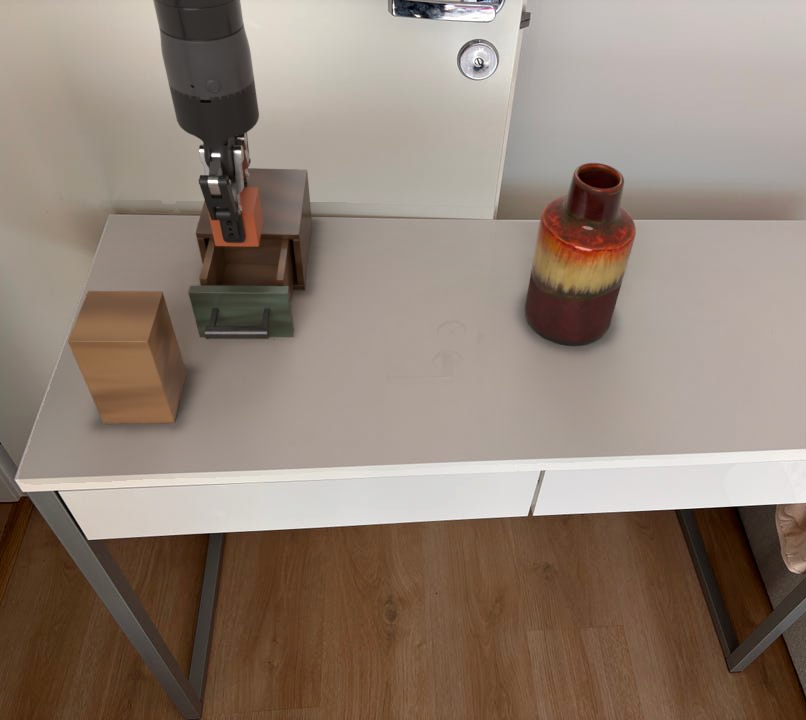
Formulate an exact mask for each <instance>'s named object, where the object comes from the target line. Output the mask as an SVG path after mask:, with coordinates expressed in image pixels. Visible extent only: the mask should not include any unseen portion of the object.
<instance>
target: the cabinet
mask: <svg viewBox="0 0 806 720" xmlns="http://www.w3.org/2000/svg"><path fill="white" fill-rule="evenodd" d="M247 169H248V173H249V179H248V181H247V182H248V187H258V190H259V196H260V203H261V210H262V216H263V226H262V231H261V237H260V239H284V240H293V248H294V256H295V265H296V266H295V274H294V282H293V290H292V291H306V286H307V277H308V276H307V275H308V267H309V256H310V250H311V249H310V247H311V238H312V231H313V230H312V229H313V218H312V206H311V198H310V197H311V195H310V187H309V186H310V185H309V176H308V175H309V174H308V170H307V169H297V168H295V169H293V168H292V169H291V168H290V169H288V168H260V167H259V168H258V167H257V168H256V167H255V168H253V167H248V168H247ZM195 236H196V242H197V246H198V250H199V254H200V259H201V263H202V264H203V262H204V259H205V255H206V251H207V247H208V243H209V239H210V238H214V237H213V232H212V227H211V223H210V218H209V213H208V208H207V205H206V202H205V200H204V201H203V205H202V208H201V212H200V215H199V219H198V222H197V226H196V230H195Z"/></svg>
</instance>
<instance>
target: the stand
mask: <svg viewBox="0 0 806 720" xmlns="http://www.w3.org/2000/svg"><path fill="white" fill-rule="evenodd" d="M67 343H68V345H69V348H70V350H71V352H72V355H73V357H74V359H75V362H76V363H77V366H78V369H79V371H80V373H81V375H82V377H83V380H84V382H85V384H86V386H87V389H88V391H89V394H90V395H91V398H92V400H93V403H94V405H95V408H96V409H97V411H98V414H99V416H100V419H101V421H102V423H103V424H104V425H108V424H110V425H112V424H117V425H119V424H171V423H172V424H175V422H176V418H177V413H178V410H179V406H180V401H181V397H182V393H183V390H184V384H185V382H186V381H185V380H186V377H187V371H186V367H185V363H184V360H183V356H182V353H181V350H180V346H179V342H178V339H177V336H176V332H175V329H174V326H173V323H172V319H171V315H170V311H169V308H168V305H167V302H166V298H165V296H164V291H161V290H160V291H159V290H150V291H149V290H88V291H87V292H86V294H85V298H84V300H83V302H82V305H81V307H80V309H79V312H78V315H77V317H76V320H75V322H74V324H73V327H72V330H71V332H70V335H69V338H68V339H67Z"/></svg>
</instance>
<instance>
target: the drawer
mask: <svg viewBox="0 0 806 720" xmlns="http://www.w3.org/2000/svg"><path fill="white" fill-rule="evenodd" d="M295 266H296V265H295V256H294V248H293V240H284V239H260V242H259V247H247V246H215V242H214V238H210V239H209V243H208V247H207V251H206V255H205V259H204V262H203V263H202V267H201V270H200V274H199V279H198V280H199V283H200V285H195V284H194V285H193V284H191V285H189V288H188V293H187V294H188V297H189V301H190V304H191V309H192V313H193V317H194V321H195V324H196V329H197V331H198V336H199V338H205V340H269V339H270V338H294V335H295V326H294V317H293V310H292V299H293V291H294V290H293V282H294V274H295Z"/></svg>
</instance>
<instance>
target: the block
mask: <svg viewBox="0 0 806 720" xmlns="http://www.w3.org/2000/svg"><path fill="white" fill-rule="evenodd" d="M240 201H241V206H242V218H243V224H244V229H245V235H246V237H245V241H244V242H243V243H227V242H225V241H224V240H223V236H222V231H221V226H220V221H219V220H211V217H210V214H209V218H210V223H211V227H212V232H213V237H214V242H215V246H247V247H259V242H260V237H261V231H262V226H263V216H262V210H261V203H260V196H259V190H258V187H244V188H243V190H242V192H241V193H240ZM208 213H209V211H208Z"/></svg>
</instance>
